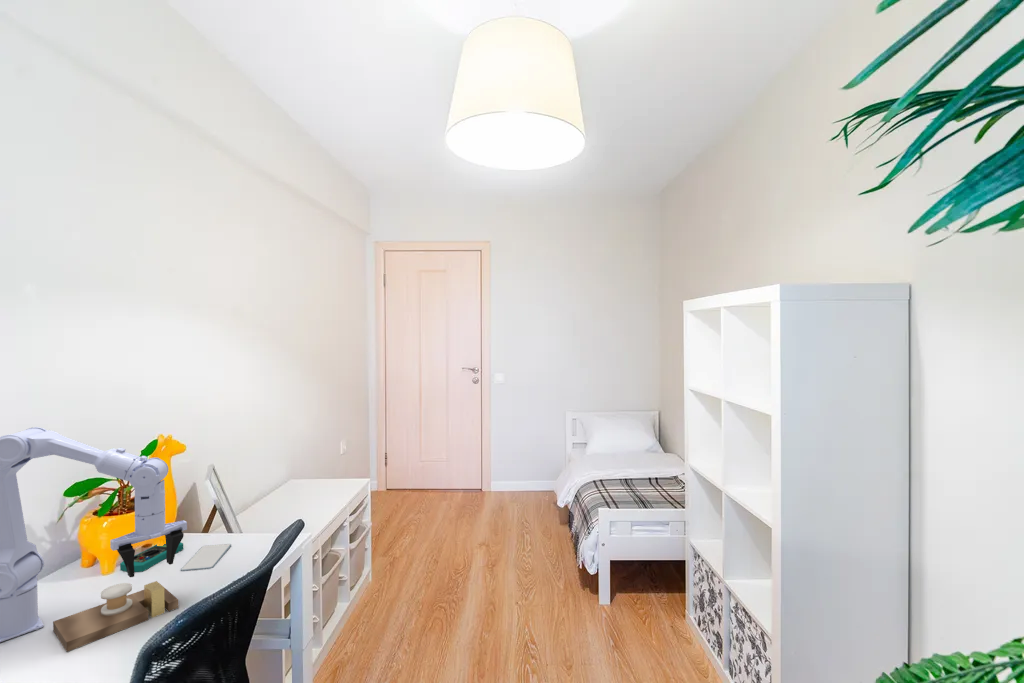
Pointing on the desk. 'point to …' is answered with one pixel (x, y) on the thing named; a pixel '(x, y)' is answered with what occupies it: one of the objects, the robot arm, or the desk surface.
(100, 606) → the notched board
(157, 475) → the robot arm
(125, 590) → the bobbin
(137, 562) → the digital multimeter
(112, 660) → the desk surface
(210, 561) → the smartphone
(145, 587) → the brass tab
